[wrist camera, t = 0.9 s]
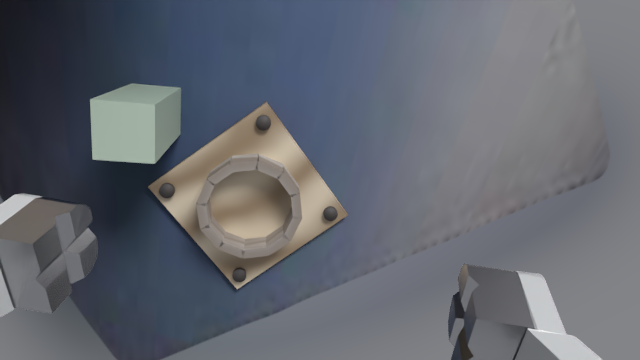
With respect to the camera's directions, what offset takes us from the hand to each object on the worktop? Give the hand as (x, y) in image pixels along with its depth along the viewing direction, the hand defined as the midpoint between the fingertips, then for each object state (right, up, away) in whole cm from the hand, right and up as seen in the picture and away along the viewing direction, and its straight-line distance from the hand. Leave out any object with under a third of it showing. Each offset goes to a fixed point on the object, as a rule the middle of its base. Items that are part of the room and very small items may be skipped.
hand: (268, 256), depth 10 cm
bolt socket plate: (-7, -1, +44) cm, 45 cm away
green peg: (-16, +9, +40) cm, 44 cm away
